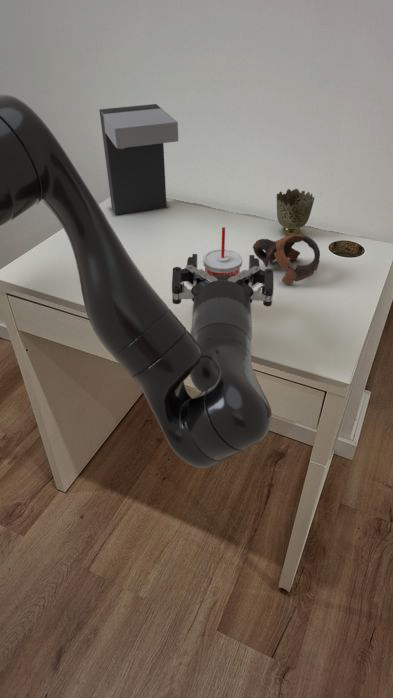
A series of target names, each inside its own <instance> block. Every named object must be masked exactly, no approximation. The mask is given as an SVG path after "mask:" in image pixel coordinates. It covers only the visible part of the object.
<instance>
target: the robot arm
mask: <svg viewBox="0 0 393 698" xmlns="http://www.w3.org/2000/svg"><path fill="white" fill-rule="evenodd" d="M40 203H43V204H44V205H45V206H46V207H47V208H48V209H49V210H50V211H51V212H52V214H53V215H54V217H55V218H56V219H57V221H58V222H59V224H60V226H61V227H62V229H63V230H64V232H65V234H66V236H67V239H68V241H69V243H70V247H71V250H72V253H73V257H74V260H75V264H76V269H77V274H78V279H79V285H80V290H81V296H82V299H83V304H84V309H85V312H86V316H87V319H88V321H89V323H90V326H91V328H92V330H93V332H94V334H95V335H96V337H97V339H98V340H99V341H100V343H101V344H102V345H103V346H104V348H105V349H106V350H107V352H108V353H110V355H111V356H112V357H113V358H114V359H115V360H116V361H117V363H118V364H119V365H120V366H121V367H122V368H123V369H124V371H126V372H125V373H127V374H128V376H130V377H131V379H133V381H134V382H135V383H136V384H137V385H138V386H139V388H140V390H141V391H142V394H143V395H144V398H145V399H146V401H147V404H148V406H149V408H150V409H151V411H152V413H153V416H154V418H155V419H156V421H157V423H158V425H159V427H160V429H161V432H162V434H163V436H164V438H165V440H166V442H167V444H168V446H169V447H170V450H172V452H173V453H174V454H175V456H177V458H179V459H180V460H181V461H182V462H184V463H185V464H187V465H189V466H191V467H193V468H197V469H201V470H203V469H210V468H213V467H215V466H217V465H219V464H221V463H224V462H225V461H227V460H229V459H231V458H233V457H235V456H237V455H238V454H240V453H243V452H244V451H246V450H247V449H250V448H252V447H254V446H256V445H257V444H259V443H260V442H261V441H263V440H264V439H265V438H266V436H267V435H268V433H269V431H270V429H271V425H272V421H273V420H272V419H273V413H272V407H271V405H270V402H269V400H268V398H267V397H266V395H265V393H264V390H263V389H262V387H261V385H260V383H259V380H258V378H257V375H256V373H255V370H254V367H253V365H252V348H251V347H252V338H253V326H252V325H253V324H252V307H251V304H252V303H253V301H255V302H256V301H258V302H262V305H263V306H264V307H272V305H273V297H274V289H275V288H274V269H272V268H266V269H264V270H262V269H261V265H260V259H259V258H258V257H255V255H254V254H249V258H248V269H247V270H246V269H243V270H241V271H240V272H239V273H238V274H237V275H236V276H234V275H225V276H221V275H212V276H211V275H209V274H208V273H207V272H205V269H203V268H200V269H198V253H192V256H189V257H187V261H186V265H185V268H181V266H175V267H173V268H172V277H171V299H172V300H171V301H172V303H173V304H174V305H180V304H181V303H182V300H191V301H192V303H193V304H192V305H193V307H192V316H191V326H190V331H189V330H188V329H187V327H185V325H184V324H183V323H182V322H181V321H180V319H179V318H178V317H177V316H176V315H175V314H174V312H173V311H172V310H171V309H170V308H169V306H168V305H167V304H166V303H165V301H164V300H163V299H162V298H161V297H160V295H159V294H158V293H157V292H156V290H154V288H153V287H152V286H151V284H150V283H149V282H148V280H147V279H146V278H145V276H144V274H143V273H142V272H141V271H140V269H139V268H138V267H137V265H136V264H135V262H134V260H133V259H132V258H131V256H130V254H129V252H128V251H127V250H126V248H125V247H124V246H125V245H123V243H122V241H121V240H120V238H119V236H118V235H117V233H116V231H115V229H114V228H113V227H112V225H111V223H110V221H109V220H108V218H107V217H106V215H105V213H104V212H103V210H102V208H101V207H100V205H99V204H98V202H97V200H96V199H95V197H94V195H93V194H92V192H91V191H90V189H89V188H88V186H87V185H86V183H85V181H84V180H83V177H81V174H80V173H79V172H78V170H77V168H76V166H75V165H74V163H73V162H72V160H71V159H70V157H69V155H68V154H67V152H66V151H65V149H64V148H63V146H62V145H61V143H60V142H59V140H58V138H56V136H55V134H54V133H53V131H52V130H51V129H50V127H49V126H47V124H46V122H45V121H44V120H43V119H42V118H41V117H40V116H39V115H38V114H37V113H36V112H35V111H34V109H32V108H31V107H30V106H29V105H28V104H27V103H25V102H24V101H22V100H21V99H19V98H17V97H16V96H14V95H9V94H0V228H2V227H3V226H6V225H7V224H8V223H11V222H12V221H14V220H15V219H17V218H18V217H20V216H22V215H23V214H24V213H26V212H28V211H29V210H31V209H33V208H34V207H36V206H38V205H39V204H40ZM185 282H186V284H188V285H189V286H190V287H191V289H189V288H188V287H187V286H186V285H185ZM259 284H260V287H258V288H257V290H254V288H255V287H257V286H258V285H259ZM189 376H190V380H191V383H192V384H193V386H194V387H195V389H197V391H199V392H200V393H198V394H196V395H195V396H193V397H192V396H191V395H190V394H189V393H188V391H187V388H186V386H185V380H186V379H187V378H188V377H189Z"/></svg>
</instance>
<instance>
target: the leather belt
mask: <svg viewBox="0 0 393 698" xmlns="http://www.w3.org/2000/svg"><path fill="white" fill-rule="evenodd" d="M300 242H303V243H306V244H307V245H308V247H309V248H311V249H312V251H313V254H314V258H313V259H312V261H311V262H310V263H308V264H303V265H300V264H296V266H295V268H293V267H291V264H292V261H297V259H298V257H299V256H300V254H301V252H300V251H298V250H296V249H295V248H293V246H294V245H295V244H296V243H300ZM252 250H253V253H254V254H255V256H256V258H258V259H259V260H261V261H262V262H263V265H264V267H266V268H268V267H269V264H273V262H274V261H276V262H277V263H278V265H279V266H280V268H281V269H282V270H283V271H284V272H285V273H284V276H283V277H282V278H281V283H283V284H285V285H286V286H290V285H291V284H293V283H294V282H299V281H300V282H301V281H303V280H305V279H307V278H309V277H311V276H313V275H314V273H315V271H317V269H318V267H319V264H320V258H321V251H320V248H319V245H318V244H317V242H316V241H315V240H313V238H311V237H309V236H307V235H304V234H301V233H298V234H291V235H286V236H284V237H281V238H279V239H278V240H275V241H274V240H271V239H268V238H259V239H257V240H256V241H255V242H254V244H253V245H252ZM291 260H292V261H291Z"/></svg>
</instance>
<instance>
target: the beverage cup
mask: <svg viewBox="0 0 393 698" xmlns="http://www.w3.org/2000/svg"><path fill="white" fill-rule="evenodd" d="M225 244H226V227H225V226H224V227H221V247H220V248H217V249H212V250H209V251H207V252H206V253H205V254H204V255H203V256H202V266H203V267H204V271H205V272H207V273H208V274H209V275H211V276H212V275H221V276H225V275H234V276H236V275H237V274H238V273H240V272H241V271H240V270H241V267H242V266H243V256H242V255H241V253H239V252H237V251H235V250H233V249H227V248H225Z"/></svg>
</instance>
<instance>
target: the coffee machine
mask: <svg viewBox="0 0 393 698" xmlns="http://www.w3.org/2000/svg"><path fill="white" fill-rule="evenodd" d="M98 111H99V117H100V126H101V134H102V142H103V149H104V156H105V165H106V173H107V181H108V189H109V197H110V204H111V205H110V206H111V209H112V211H113V213H114V215H115V216H119V215H120V216H121V215H126V214H133V213H140V212H145V211H152V210H158V209H159V210H160V209H164V208H167V207H168V206H167V205H168V204H167V189H166V187H167V186H166V166H165V148H164V144H167V143H176V142H177V143H178V142H179V123H178V121H177V120H176V119H175V118H174V117H172V115H170V114H169V113H168V112H167V111H166V110H164V108H162V107H160V106H159V105H158V103H153V104H152V103H150V104H142V105H131V106H119V107H111V108H99V110H98Z"/></svg>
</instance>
